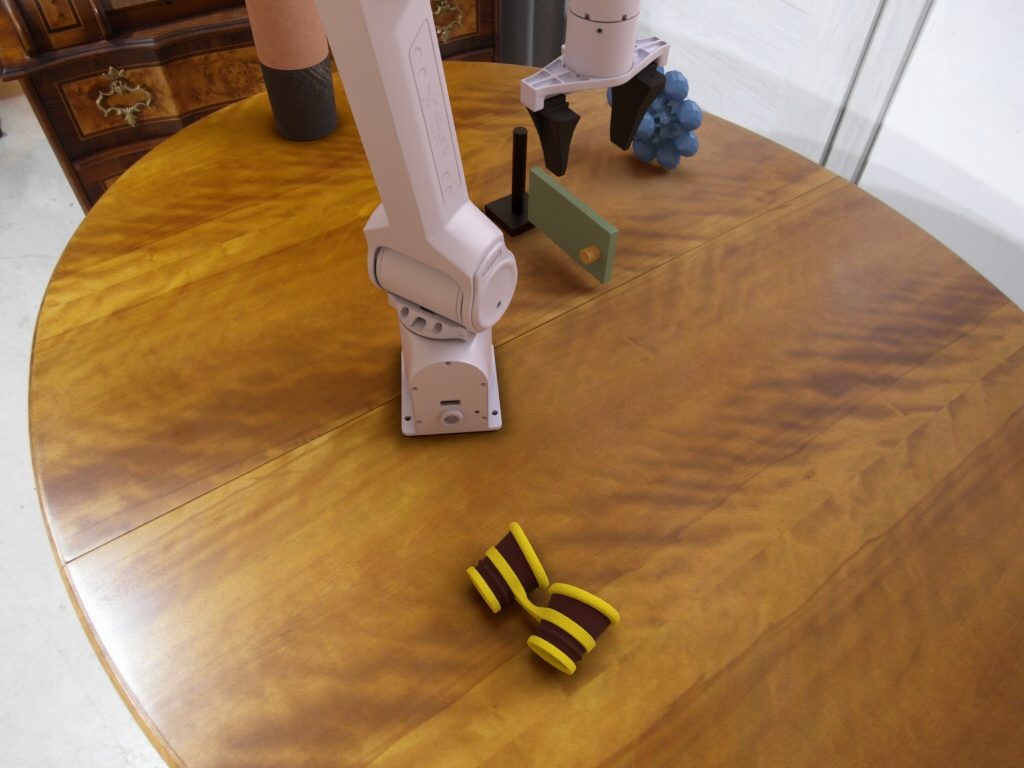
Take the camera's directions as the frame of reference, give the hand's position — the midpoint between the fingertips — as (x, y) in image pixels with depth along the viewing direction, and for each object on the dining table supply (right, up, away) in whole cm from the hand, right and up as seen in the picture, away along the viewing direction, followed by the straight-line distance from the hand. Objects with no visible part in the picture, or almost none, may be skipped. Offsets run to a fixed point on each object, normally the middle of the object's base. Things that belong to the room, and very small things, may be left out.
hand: (588, 157), depth 71 cm
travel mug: (-31, +10, +21) cm, 39 cm away
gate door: (-2, -8, +4) cm, 9 cm away
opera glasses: (-5, -36, -19) cm, 41 cm away
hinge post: (-6, -3, +10) cm, 12 cm away
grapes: (+8, +4, +16) cm, 18 cm away
